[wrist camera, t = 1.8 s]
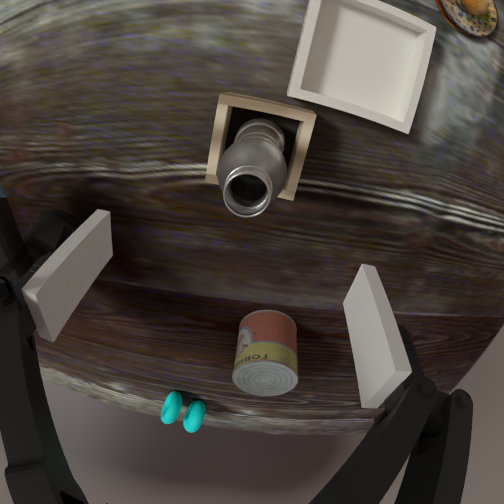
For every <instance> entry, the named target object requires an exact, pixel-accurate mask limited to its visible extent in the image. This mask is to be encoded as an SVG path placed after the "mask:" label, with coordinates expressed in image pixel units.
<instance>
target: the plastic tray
mask: <svg viewBox="0 0 504 504" xmlns="http://www.w3.org/2000/svg"><path fill="white" fill-rule="evenodd" d="M435 32H436V27H434V26H433V25H431V24H429V23H427V22H425V21H423V20H421V19H419V18H417V17H415V16H413V15H411V14H409V13H406V12H404V11H402V10H400V9H398V8H395V7H393V6H391V5H388V4H386V3H383V2H381V1H378V0H309V2H308V7H307V11H306V15H305V19H304V23H303V27H302V32H301V36H300V40H299V44H298V48H297V53H296V57H295V61H294V65H293V69H292V74H291V78H290V82H289V86H288V90H287V96H290V97H294V98H298V99H302V100H306V101H310V102H314V103H317V104H321V105H324V106H328V107H331V108H335V109H338V110H341V111H345V112H348V113H351V114H354V115H357V116H360V117H363V118H366V119H369V120H372V121H375V122H377V123H380V124H383V125H386V126H388V127H391V128H393V129H396V130H399V131H401V132H404V133H406V134H409V131H410V128H411V125H412V122H413V118H414V115H415V112H416V108H417V105H418V101H419V98H420V94H421V91H422V87H423V83H424V80H425V76H426V72H427V68H428V64H429V59H430V55H431V51H432V46H433V41H434V37H435Z"/></svg>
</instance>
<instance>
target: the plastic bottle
mask: <svg viewBox="0 0 504 504" xmlns="http://www.w3.org/2000/svg"><path fill="white" fill-rule="evenodd" d="M284 149H285V137H284V135H283V132H282V131H281V129H280V128H279V127H278V125H276V124H275V123H274V122H272V121H270V120H267V119H260V118H258V119H252V120H250V121H247V122H246V123H244V124H243V125H242V126H241V127H240V128H239V130H238V131H237V133H236V135H235V139H234V144H232V145H231V146H230V147H229V148H228V149H227V150H226V151H225V152H224V153H223V155H222V156H221V158H220V161H219V163H218V168H217V178H218V182H219V186H220V188H221V190H222V192H223V198H224V202H225V204H226V206H227V208H228V209H229V210H230V211H231V212H232V213H234V214H235V215H238V216H240V217H254V216H257V215H259V214H260V213H262V212H263V211H264V210H265V209H266V208H267V206H268V204H269V203H271V202H272V201H273V200H274V199H276V198H277V197H278V195H279V194H280V193H281V192H282V190H283V188H284V186H285V184H286V180H287V165H286V162H285V159H284V156H283V155H282V154H283V152H284Z"/></svg>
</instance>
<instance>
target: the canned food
mask: <svg viewBox="0 0 504 504" xmlns="http://www.w3.org/2000/svg"><path fill="white" fill-rule="evenodd" d="M296 332H297V328H296V324H295V322H294V321H293V319H292V318H290V317H289V316H288V315H286V314H284V313H282V312H279V311H275V310H259V311H255V312H252V313H250V314H248V315H247V316H246V317H244V318H243V319H242V321H241V323H240V326H239V336H238V343H237V349H236V356H235V363H234V370H233V374H232V380H233V383H234V384H235V385H236V386H237V387H238V388H239V389H240V390H242V391H244V392H246V393H249V394H252V395H257V396H277V395H281V394H284V393H287V392H289V391H291V390H292V389H293V388H294V387H295V386H296V385H297V383H298V372H297V338H296Z"/></svg>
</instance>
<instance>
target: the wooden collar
mask: <svg viewBox="0 0 504 504" xmlns="http://www.w3.org/2000/svg"><path fill="white" fill-rule="evenodd" d="M233 106H234V107H240V108H245V109H251V110H256V111H261V112H265V113H270V114H275V115H279V116H283V117H288V118H292V119H296V120H300V122H299V126H298V130H297V134H296V138H295V142H294V146H293V150H292V153H291V157H290V161H289V165H288V169H287V180H286V184H285V186H284V188H283V190H282V192H281V193H280V194H279V195H278V197H279V198H284V199H288V200H292V201H293V200H294V196H295V192H296V189H297V185H298V182H299V178H300V175H301V171H302V167H303V164H304V160H305V156H306V153H307V149H308V145H309V142H310V138H311V134H312V131H313V127H314V123H315V119H316V114H315V113H314V112H313V111H312V110H309V109H305V108H302V107H298V106H293V105H289V104H285V103H281V102H276V101H272V100H267V99H262V98H257V97H252V96H247V95H241V94H235V93H229V92H225V93H222V94H220V95H219V101H218V106H217V111H216V117H215V123H214V129H213V135H212V141H211V147H210V153H209V159H208V166H207V172H206V179H205V182H207V183H212V184H217V185H219V182H218V178H217V168H218V163H219V161H220V158H221V156H222V155H223V153H224V151H225V146H226V140H227V135H228V129H229V124H230V119H231V113H232V108H233Z"/></svg>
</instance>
